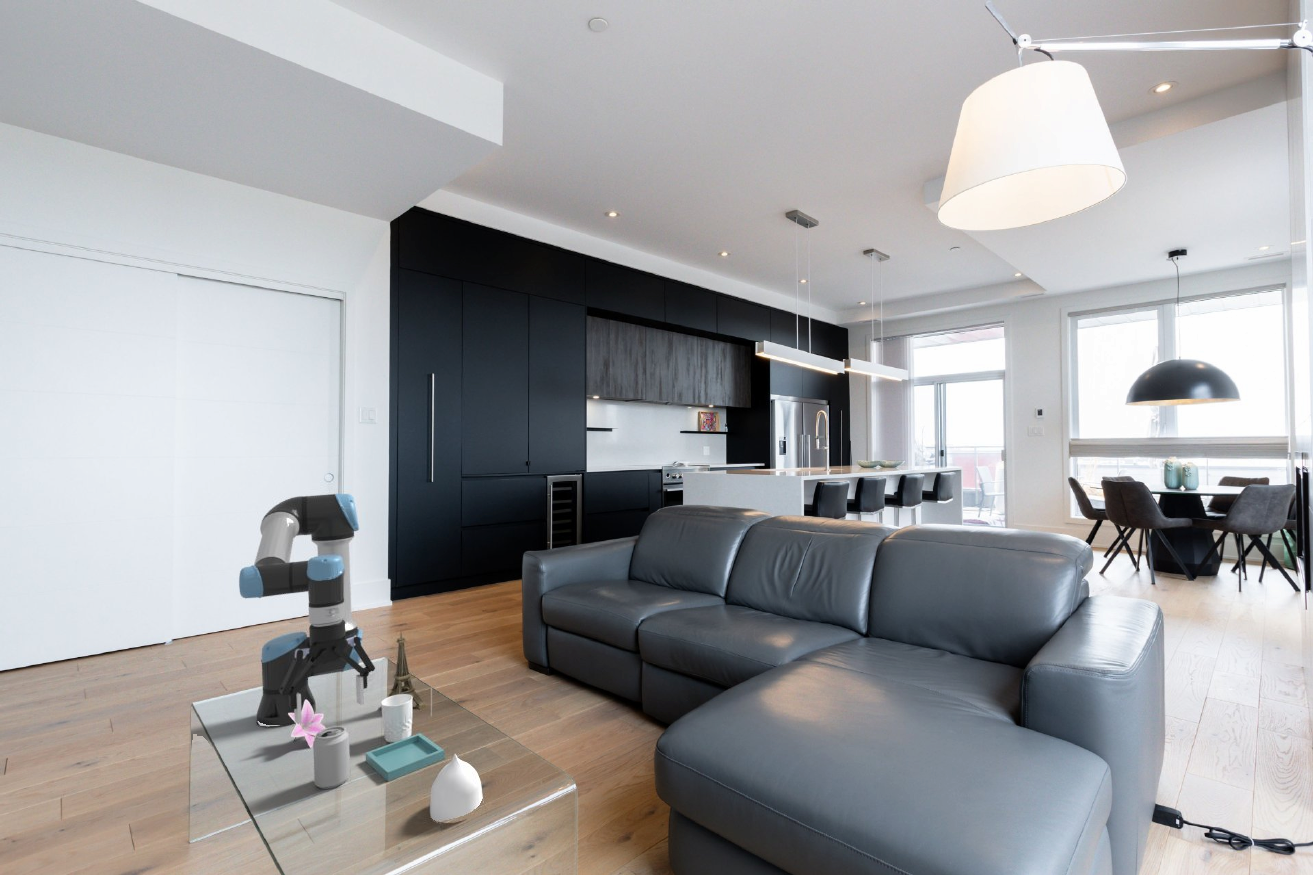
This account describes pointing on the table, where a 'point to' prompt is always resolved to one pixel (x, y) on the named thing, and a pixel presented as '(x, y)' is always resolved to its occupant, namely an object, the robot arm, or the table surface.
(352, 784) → the table surface
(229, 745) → the table surface
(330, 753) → the can
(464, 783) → the teardrop
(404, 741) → the tray
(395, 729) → the white cup
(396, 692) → the eiffel tower
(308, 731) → the lily
